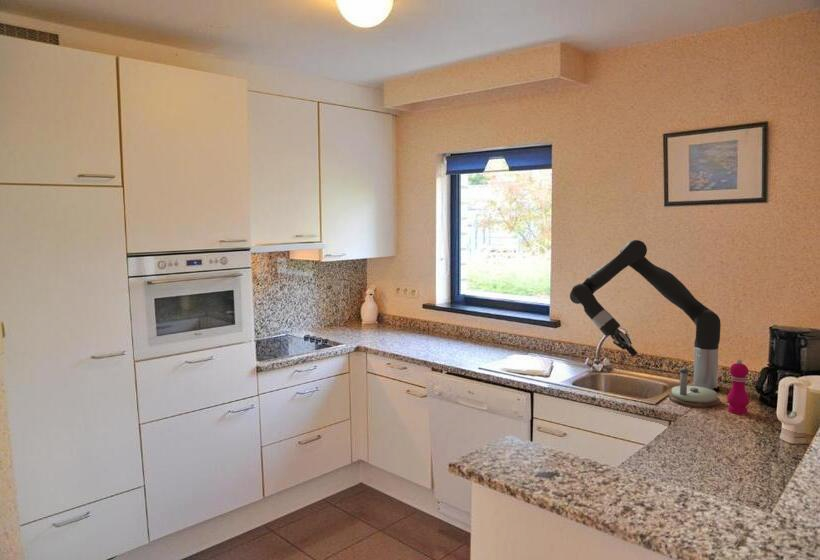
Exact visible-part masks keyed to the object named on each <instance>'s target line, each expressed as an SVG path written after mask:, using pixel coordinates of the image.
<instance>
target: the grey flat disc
mask: <svg viewBox="0 0 820 560" xmlns="http://www.w3.org/2000/svg"><path fill="white" fill-rule="evenodd" d="M668 395H669V396H668V399H669V401H671V402H672V403H673V404H676V405H680V406H683V407H684V406H685V407H688V408H690V407H691V408H698V409H706V408H707V409H708V408H710V409H711V408H717V407H718V406H719V405H720V398H719V397H718V396H717V400H716V401H714V402H708V403H698V402H689V401H684V400H680V399H677V398H675V397H673V396H672V391H671V392H669V394H668Z"/></svg>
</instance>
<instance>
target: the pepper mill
mask: <svg viewBox="0 0 820 560" xmlns="http://www.w3.org/2000/svg"><path fill="white" fill-rule="evenodd" d="M729 371H730V372H729V373H730V374H731V376H730V378H731V381H732V386H731V388H730V390H729V392H728V394H727V397H726V399H727V403H728V404H729V405H727V406H728V407H727V410H728V412H729V413H731V414H735V415H746V414H747V413H748V405H749V404H750V397H749V395H748V393H747V390H746V388H745V387H746V382H747V376H748V374H749V368H748V366H747V365H746V364H744V363H743V360H742V359H737V360H736V363H733V364H731V366H730V368H729Z"/></svg>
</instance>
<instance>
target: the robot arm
mask: <svg viewBox="0 0 820 560" xmlns="http://www.w3.org/2000/svg"><path fill="white" fill-rule="evenodd" d="M619 250H620V251H619V253H618V254H617V255H616V256H615V257H613V258H612V259H611V260H609V261H607V262H606V263H605V264H603V265H602V266H601V267H599V268H598V269H596V270H595V271H593V272H592V273H591V274H589V275H588V277H586V278H585V280H584V281H583V282H582V283H576V284H575V285H573V286H572V289H571V291H570V294H569V299H570V301H571V302H572V303H573V304H577V305H578V304H579V305H582V306H583V311H584V313H585V314H586V315H587V316H588V317H589V319H590V320H591V321H592V322H593V324H594V325H595V326H596V328H597V329H599V330H600V331H601V333H602V334H603V335H604V336H605V337H606V338H607V337H611V339H612V340H613V341H612V343H613V344H614V345H616V346H617V347H619V348H620V349H621V350H625V351H627V352H628V353H629V354H630V355H631V357H635V356H637V355H638V351H637V350H636V349H635V348H634V347H633V345H632V344H633V342H632V340H631V339H630V337H629V335H628V334H627V333H624V332H623V331H621V330H620V329H619V328H621V324H620V323H619V322H618V320H616V318H614V316H613V315H612V314H611V313H610V312H609V311H608V310H607V309H606V308H604V307H603V306H602V304H600V303H599V302H598V300H597V299H596V297H595V295H594V293H596V291H598V290H600V289H601V288H603V286H605V285H606V284H608V283H609V282H610V281H611V280H612V279H613V278H615V277H616V276H617V275H618V274H620V272H622V271H623V270H624V269H626V268H627V267H630V268H632V269H633V270H634V272H637V273H638V274H639V275H641V276H642V277H643V278H644V280H646V281H647V282H648V283H649V284H650V285H651V286H652V287H654V288H655V290H656V291H657V292H658V293H659V294H661V295H662V296H663V297H664V298H665V299H667V300H668V301H669V302H670V303H672V305H675V307H677V308H679V309H681V310H682V311H683V312H684V313H685V315H687V317H689V318H690V319H691V321H692V322H693V323H694V325H695V340H694V343H693V344H694V345H693V348H694V349H693V350H694V351H693V353H694V354H693V380H692V382H693V383H692V384H693V385H692V386H698V387H704V388H708V389H711V390H715V389H714V388H716V389H718V375H719V374H718V373H719V372H718V371H719V370H718V369H719V348H720V346H719V345H720V339H721V325H722V324H721V319H720V317H719V316H718V314H717V313H715V312H714V311H713V310H711V309H710V308H709V307H707V306H706V305H704V304H703V303H701V302H700V300H698V299H697V298H695V296H694V295H693V293H692V292H691V291H690V290H689V288H687V287H686V286H685V284H684V283H683V282H682V281H680V280H679V279H678V278H677V277H676V275H674V274H672V273H671V272H669V271H668V270H666V269H663V268H662V267H660V266H657V265H656V264H654V263H652V262H651V261H650V260H649V259H648V258H647V257H646V256H647V253H648V247H647V245H646V244H645V242H644V241H642V240H639V239H634V240H631V241H628V242H627V243H626V244H625V245H624V246H622V247H621V248H620V249H619Z"/></svg>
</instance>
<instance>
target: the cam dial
mask: <svg viewBox="0 0 820 560" xmlns="http://www.w3.org/2000/svg"><path fill="white" fill-rule="evenodd" d="M688 372H689V369H688V368H679V373H680V376H679V377H680V380H679V385H677V386H673V387H672V388H671V392H672V396H673V397H675V398H677V399H680V400H684V401H689V402H698V403H708V402H714V401H716V400H717V397H718V392H717V391H715V389H708V388H704V387H698V386H693V385H688Z"/></svg>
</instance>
